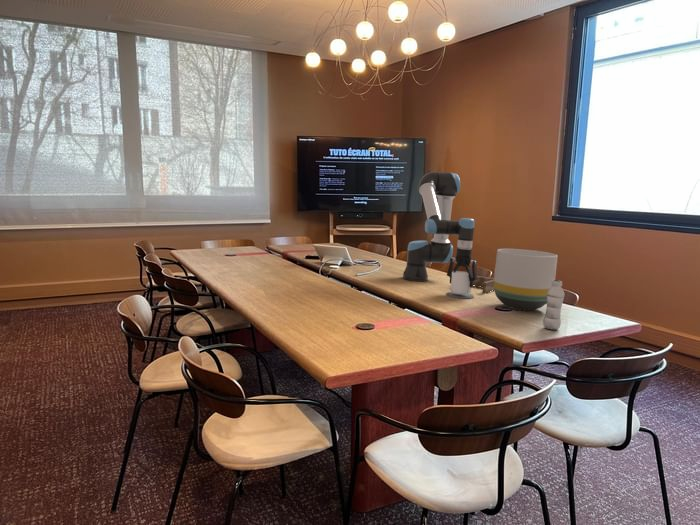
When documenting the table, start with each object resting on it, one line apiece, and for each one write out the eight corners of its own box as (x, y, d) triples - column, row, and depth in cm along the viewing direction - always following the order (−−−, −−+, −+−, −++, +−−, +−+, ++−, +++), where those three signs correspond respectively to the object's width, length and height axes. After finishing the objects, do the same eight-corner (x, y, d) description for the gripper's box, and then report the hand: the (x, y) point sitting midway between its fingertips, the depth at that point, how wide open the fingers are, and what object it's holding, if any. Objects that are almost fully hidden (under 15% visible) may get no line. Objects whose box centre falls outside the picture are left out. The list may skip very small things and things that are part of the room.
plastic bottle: (539, 326, 194) (545, 278, 191) (554, 327, 194) (560, 279, 191) (547, 331, 187) (553, 282, 184) (563, 331, 188) (569, 282, 185)
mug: (475, 293, 244) (477, 273, 243) (458, 295, 238) (460, 274, 236) (464, 290, 251) (465, 270, 250) (447, 291, 245) (448, 271, 244)
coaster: (441, 295, 244) (441, 294, 244) (453, 291, 255) (453, 290, 255) (467, 300, 236) (467, 299, 236) (478, 296, 247) (478, 295, 247)
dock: (454, 288, 265) (455, 277, 264) (467, 284, 279) (468, 274, 278) (485, 293, 254) (486, 283, 253) (497, 289, 268) (498, 279, 267)
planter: (563, 316, 214) (570, 257, 210) (508, 315, 209) (514, 255, 205) (531, 302, 240) (537, 249, 236) (481, 301, 235) (487, 247, 231)
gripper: (442, 246, 245) (438, 288, 249) (481, 251, 232) (476, 296, 236) (448, 245, 251) (444, 287, 254) (487, 250, 238) (482, 294, 242)
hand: (460, 291), depth 245 cm, fingers closed on mug, 8 cm apart
